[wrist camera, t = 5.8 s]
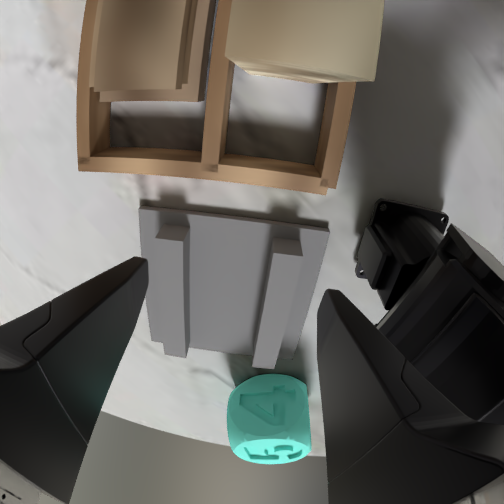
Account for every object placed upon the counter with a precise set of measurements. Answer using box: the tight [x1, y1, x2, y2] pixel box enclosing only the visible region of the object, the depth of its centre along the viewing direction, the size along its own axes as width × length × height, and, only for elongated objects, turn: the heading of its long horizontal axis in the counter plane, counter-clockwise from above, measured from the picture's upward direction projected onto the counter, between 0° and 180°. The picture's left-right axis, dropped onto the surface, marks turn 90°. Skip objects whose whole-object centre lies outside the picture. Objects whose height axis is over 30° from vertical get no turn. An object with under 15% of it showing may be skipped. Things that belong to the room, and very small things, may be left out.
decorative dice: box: [227, 374, 311, 464], centre depth 30 cm, size 8×8×8 cm
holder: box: [139, 206, 330, 369], centre depth 24 cm, size 14×14×3 cm
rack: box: [77, 0, 356, 195], centre depth 14 cm, size 16×21×3 cm
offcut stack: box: [89, 0, 216, 102], centre depth 13 cm, size 7×12×5 cm, turn 173°
